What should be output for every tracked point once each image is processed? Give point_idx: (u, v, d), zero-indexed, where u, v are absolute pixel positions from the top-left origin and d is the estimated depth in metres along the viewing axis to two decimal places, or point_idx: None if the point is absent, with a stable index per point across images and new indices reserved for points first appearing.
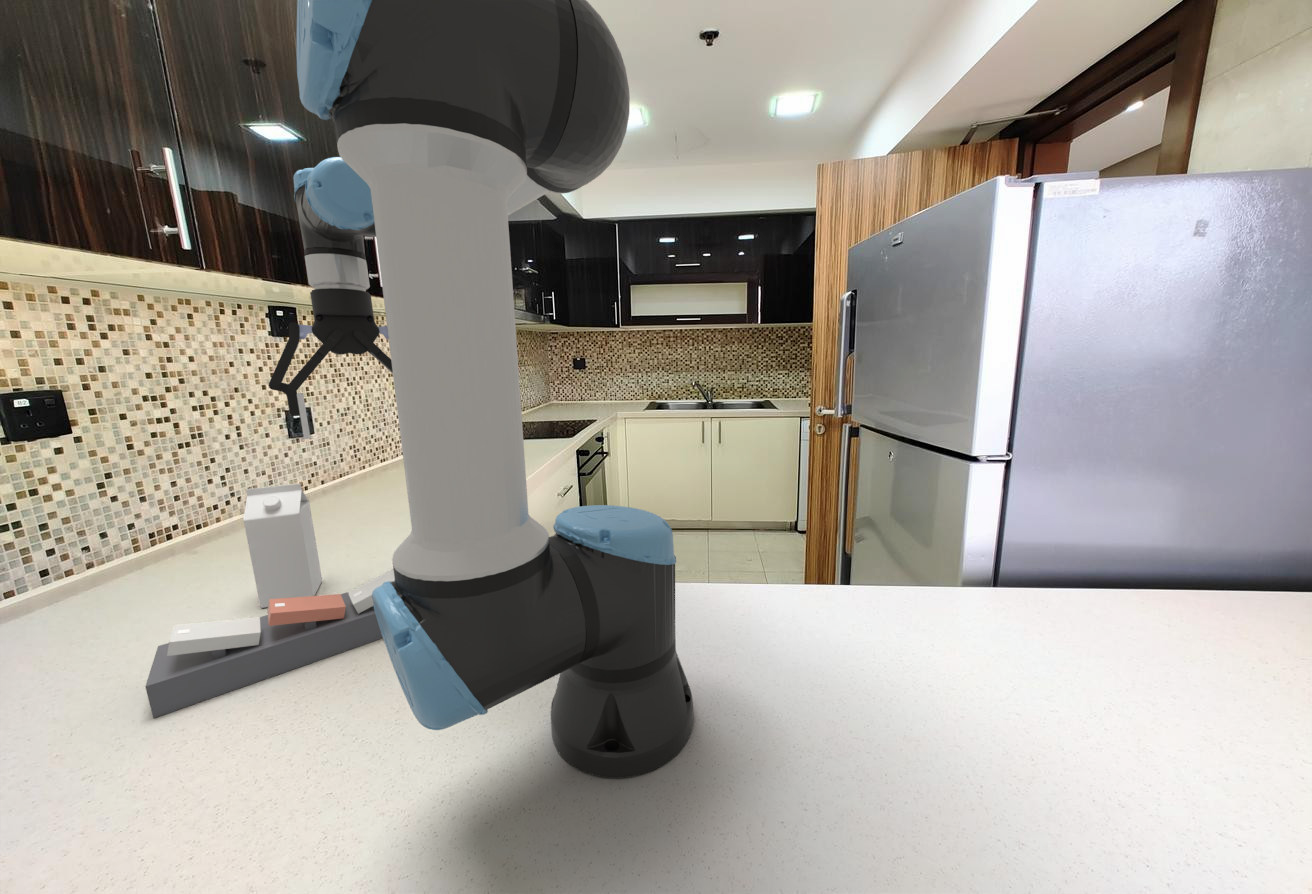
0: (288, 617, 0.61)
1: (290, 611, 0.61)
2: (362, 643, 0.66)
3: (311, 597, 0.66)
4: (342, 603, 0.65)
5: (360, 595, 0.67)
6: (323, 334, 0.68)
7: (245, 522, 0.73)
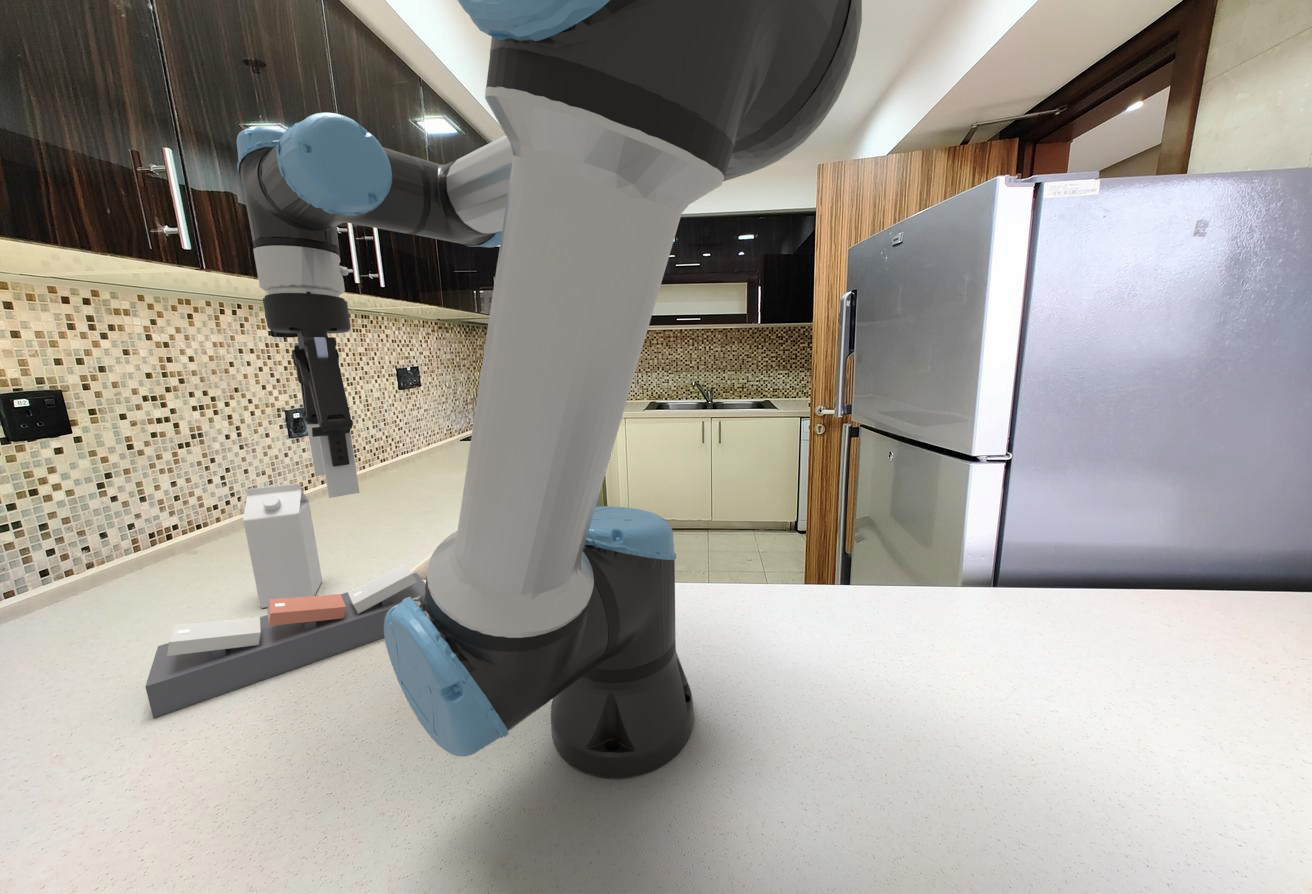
0: (288, 617, 0.61)
1: (290, 611, 0.61)
2: (362, 643, 0.66)
3: (311, 597, 0.66)
4: (342, 603, 0.65)
5: (360, 595, 0.67)
6: None
7: (245, 522, 0.73)
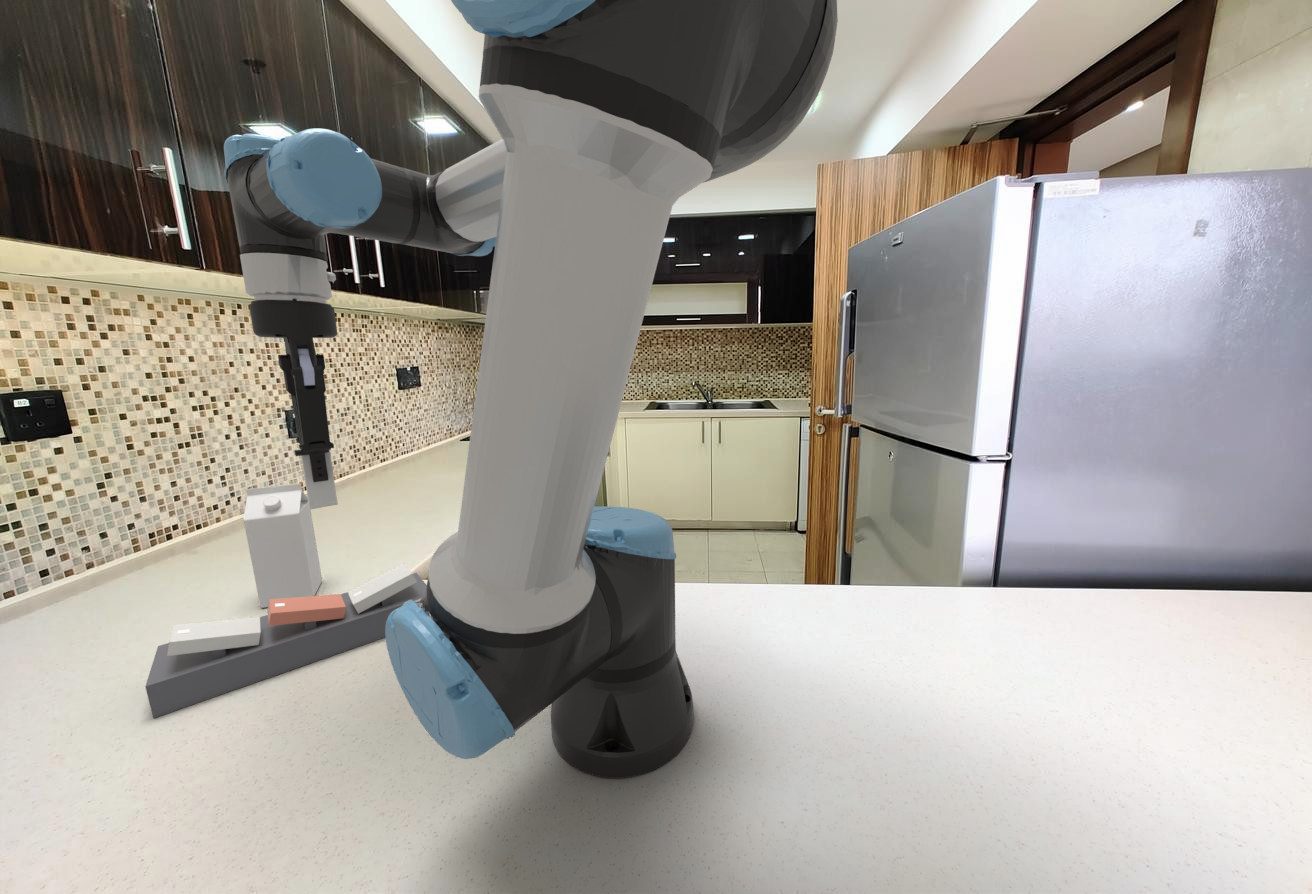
0: (288, 617, 0.61)
1: (290, 611, 0.61)
2: (362, 643, 0.66)
3: (311, 597, 0.66)
4: (342, 603, 0.65)
5: (360, 595, 0.67)
6: None
7: (245, 522, 0.73)
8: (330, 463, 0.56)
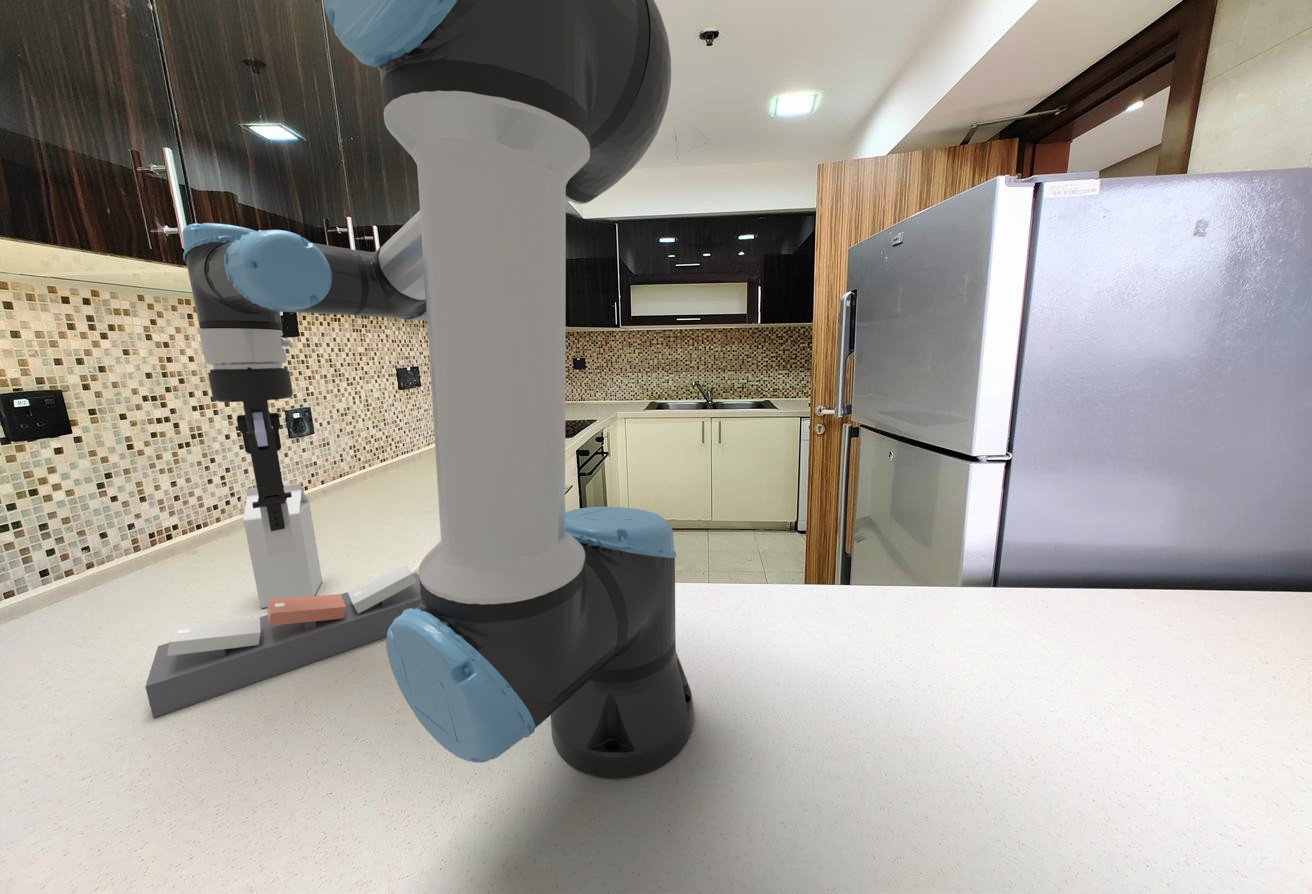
0: (288, 617, 0.61)
1: (290, 611, 0.61)
2: (362, 643, 0.66)
3: (311, 597, 0.66)
4: (342, 603, 0.65)
5: (360, 595, 0.67)
6: None
7: (245, 522, 0.73)
8: (287, 512, 0.61)
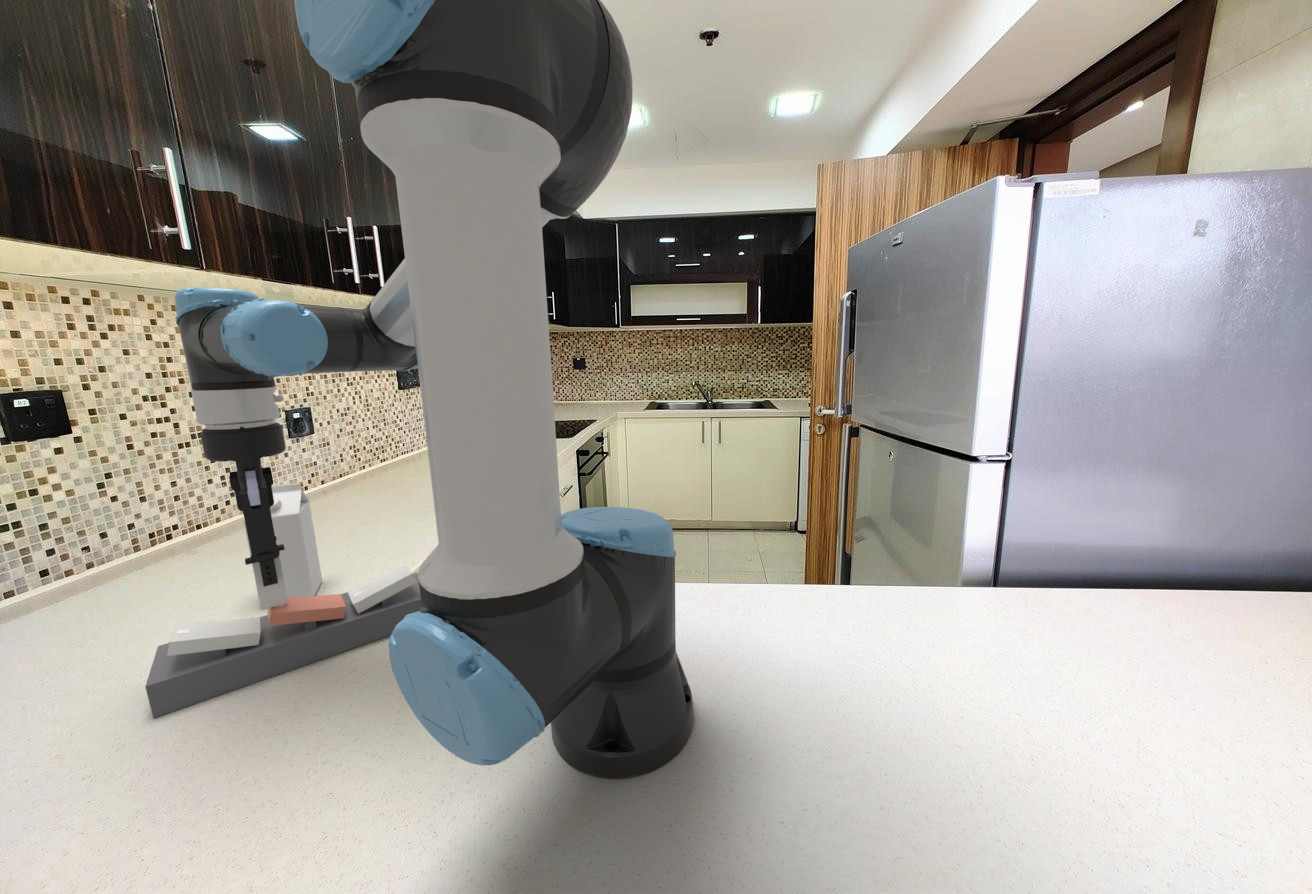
0: (288, 617, 0.61)
1: (290, 611, 0.61)
2: (362, 643, 0.66)
3: (311, 597, 0.66)
4: (342, 603, 0.65)
5: (360, 595, 0.67)
6: None
7: None
8: (280, 566, 0.61)
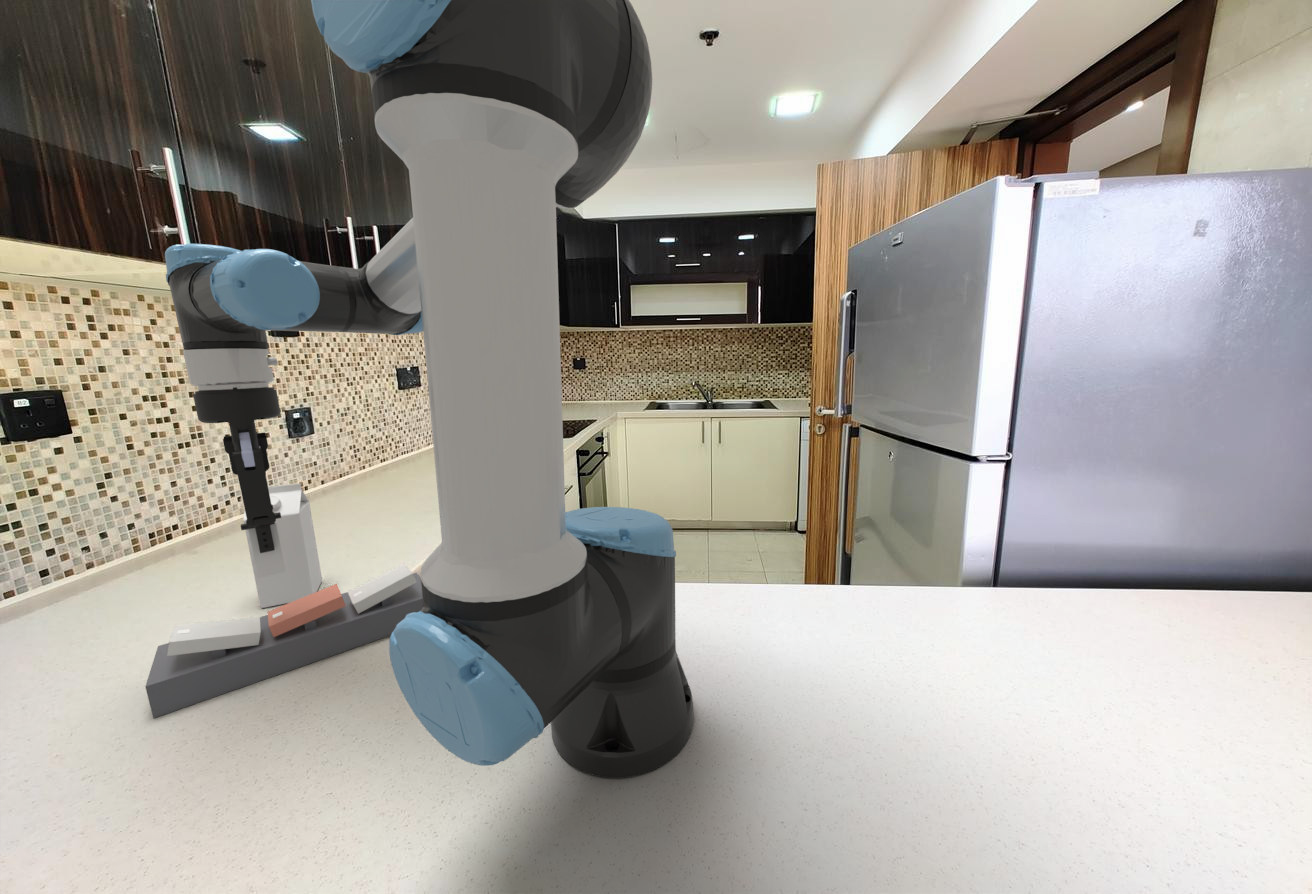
0: (289, 624, 0.61)
1: (288, 618, 0.61)
2: (362, 643, 0.66)
3: (308, 596, 0.65)
4: (338, 593, 0.65)
5: (360, 595, 0.67)
6: None
7: (245, 522, 0.73)
8: (277, 533, 0.60)
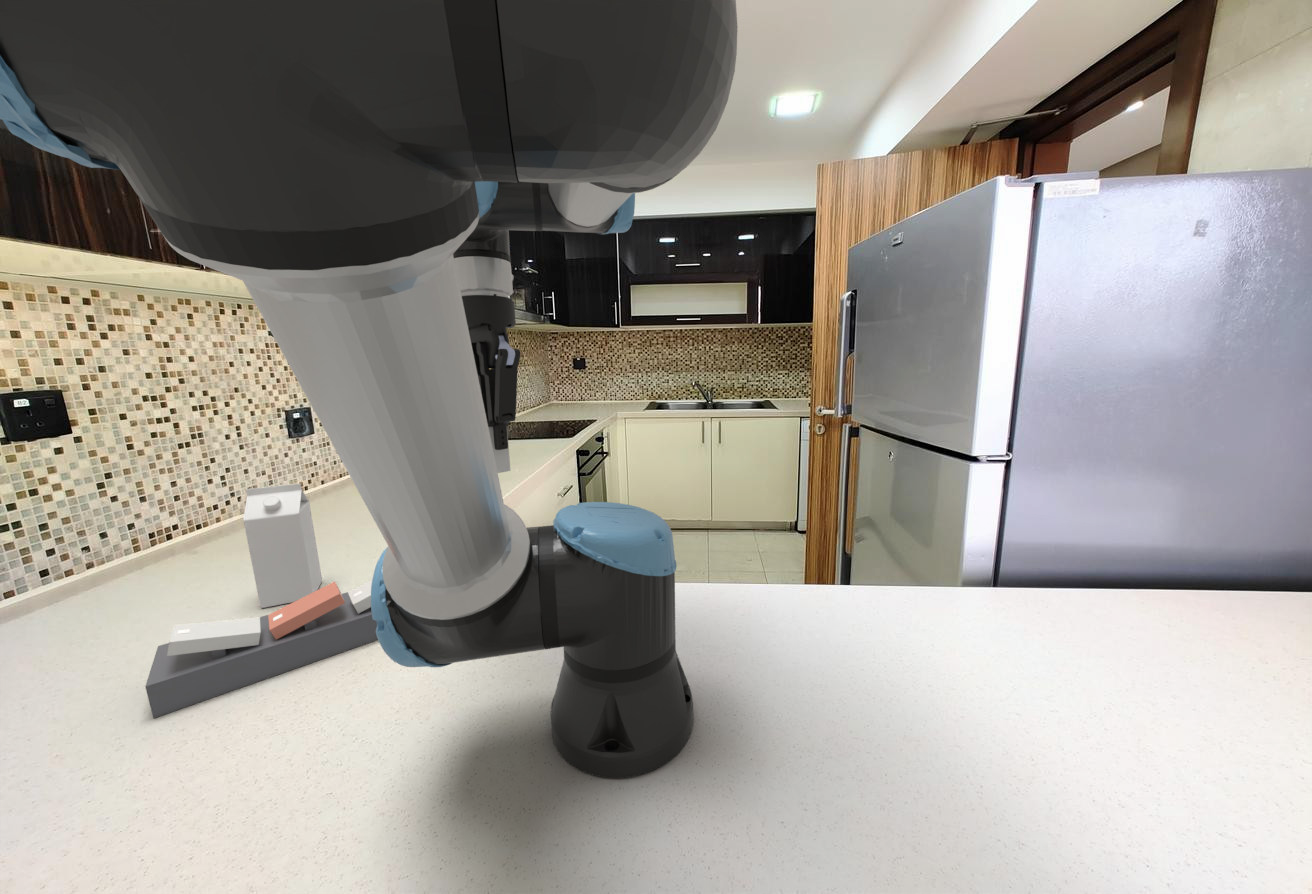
0: (289, 625, 0.61)
1: (288, 620, 0.61)
2: (362, 643, 0.66)
3: (307, 596, 0.65)
4: (336, 591, 0.65)
5: (360, 595, 0.67)
6: None
7: (245, 522, 0.73)
8: (506, 434, 0.66)
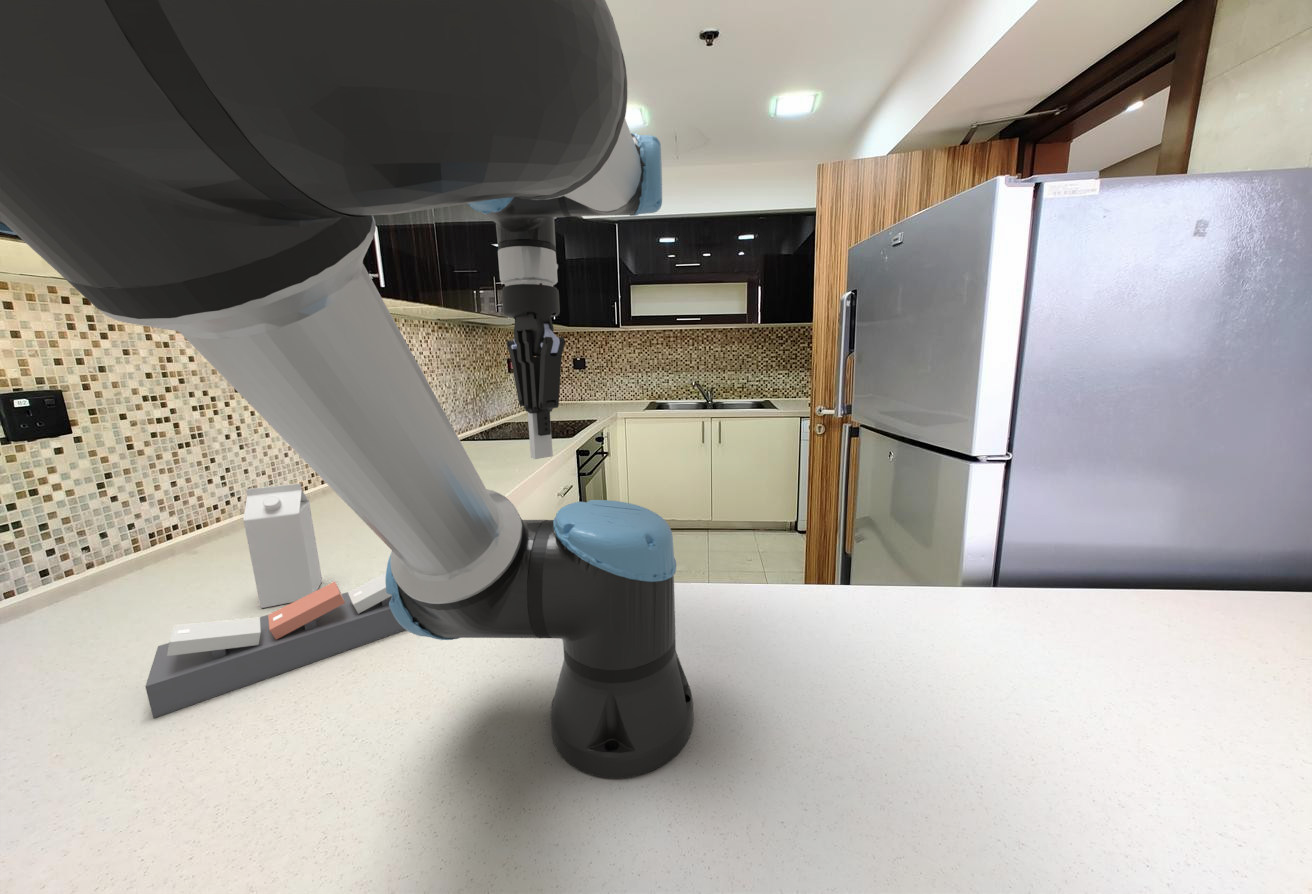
0: (289, 625, 0.61)
1: (288, 620, 0.61)
2: (362, 643, 0.66)
3: (307, 596, 0.65)
4: (336, 591, 0.65)
5: (360, 595, 0.67)
6: None
7: (245, 522, 0.73)
8: (549, 421, 0.68)
